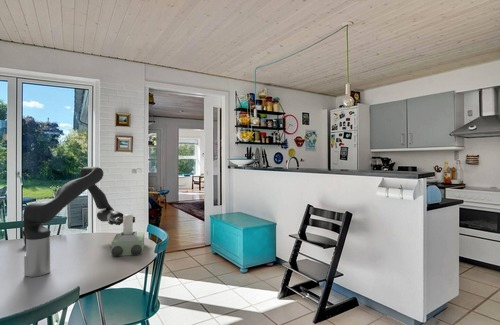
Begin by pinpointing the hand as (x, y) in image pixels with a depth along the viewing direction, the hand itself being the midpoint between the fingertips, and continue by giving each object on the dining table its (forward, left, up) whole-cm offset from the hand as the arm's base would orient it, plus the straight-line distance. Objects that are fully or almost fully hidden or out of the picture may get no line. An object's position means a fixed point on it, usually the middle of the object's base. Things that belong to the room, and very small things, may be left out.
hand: (126, 222), depth 171 cm
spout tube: (+1, -1, -9) cm, 10 cm away
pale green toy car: (+1, +3, -17) cm, 18 cm away
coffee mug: (-58, +29, -18) cm, 67 cm away
